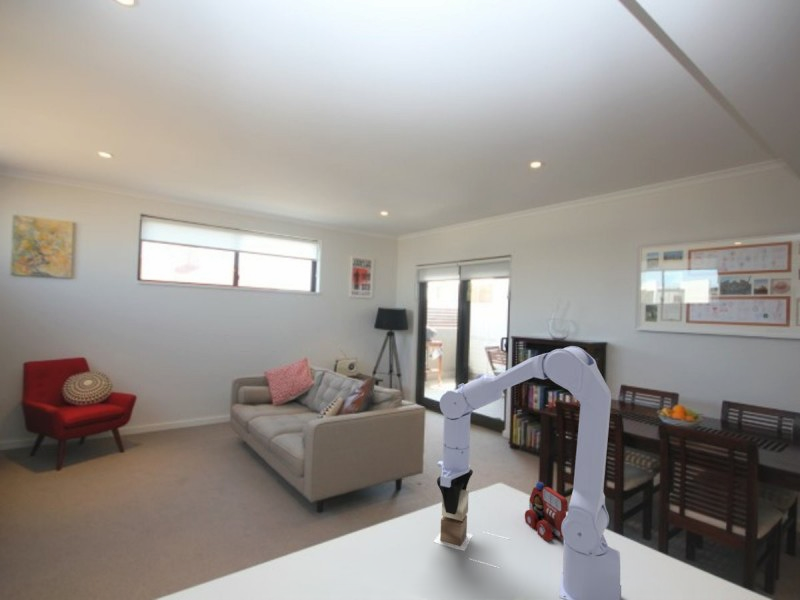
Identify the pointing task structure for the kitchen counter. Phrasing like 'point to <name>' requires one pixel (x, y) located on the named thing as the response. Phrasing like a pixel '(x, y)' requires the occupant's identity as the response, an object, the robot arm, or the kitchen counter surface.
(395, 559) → the kitchen counter surface
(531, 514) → the toy fire truck
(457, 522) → the walnut block
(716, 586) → the kitchen counter surface
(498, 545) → the kitchen counter surface
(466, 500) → the maple block
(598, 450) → the robot arm
